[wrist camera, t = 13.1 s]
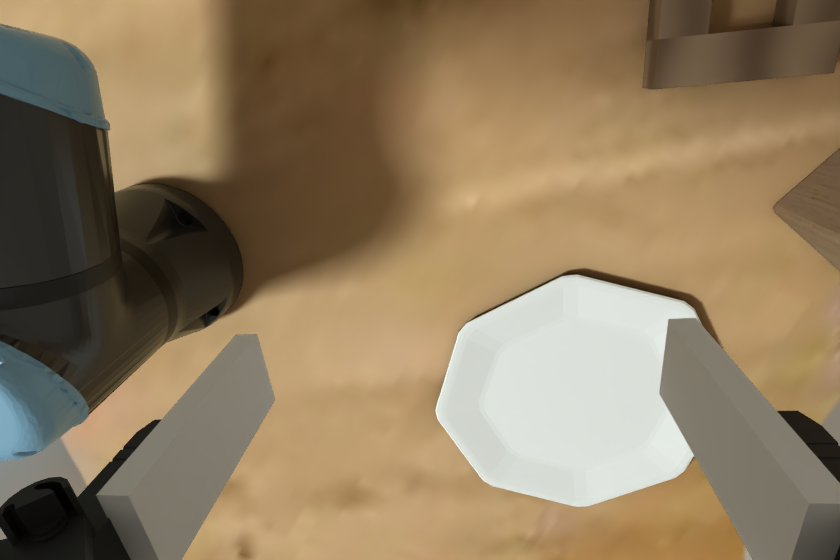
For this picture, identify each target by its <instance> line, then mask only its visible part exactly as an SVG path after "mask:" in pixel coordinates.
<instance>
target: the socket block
mask: <svg viewBox="0 0 840 560" xmlns="http://www.w3.org/2000/svg"><path fill="white" fill-rule="evenodd" d="M712 2H713V0H650V8H649V19H648V30H647V41H646V53H645V64H644V75H643V86H642V88H648V89H663V88H674V87H685V86H696V85H707V84H718V83H729V82H740V81H751V80H762V79H773V78H784V77H795V76H806V75H817V74H828V73H834V70H835V66H836V62H837V58H838V54H839V49H840V0H777V4H776V9H775V15H774V20H773V26H772V28H762V29H752V30H743V31H733V32H723V33H714V34H708V32H709V24H710V17H711V10H712Z"/></svg>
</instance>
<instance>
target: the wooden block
mask: <svg viewBox="0 0 840 560" xmlns="http://www.w3.org/2000/svg"><path fill="white" fill-rule="evenodd" d="M773 209H774V212H775V213H776V214H777V215H778V216H779V217H780V218H781V219H782V220H783V221H784V222H786V223H787V224H788V225H789V226H790V227H791V228H792V229H793V230H794V231H796V232H797V233H798V234H799V235H800V236H801V237H802V238H803V239H804V240H806V241H807V242H808V243H809V244H810V245H811V246H812V247H813V248H814V249H815V250H817V251H818V252H819V253H820V254H821V255H822V256H823V257H824V258H825V259H827V260H828V261H829V262H830V263H831V264H832V265H833V266H834V267H835V268H837V269H838V270H839V271H840V149H838V150H837V151H836V152H835V153H834V154H833V155H832V156H830V157H829V158H828V159H827V160H826V161H825V162H823V163H822V164H821V165H820V166H819V167H818V168H816V169H815V170H814V171H813V172H812V173H811V174H810V175H808V176H807V177H806V178H805V179H804V180H803V181H801V182H800V183H799V184H798V185H797V186H796V187H795V188H793V189H792V190H791V191H790V192H789V193H788V194H786V195H785V196H784V197H783V198H782V199H781V200H780V201H778V202H777V203H776V204H775V205H774V207H773Z"/></svg>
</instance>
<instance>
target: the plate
mask: <svg viewBox="0 0 840 560" xmlns="http://www.w3.org/2000/svg"><path fill="white" fill-rule="evenodd" d="M679 318H696V319H697V320H698V321H699V322H700V324H701V321H700V319H699V317H698V315H697V313H696V311H695V309H694V308H693V307H692V306H690V305H689V304H688V303H686V302H685V301H684V300H681V299H677V298H673V297H669V296H665V295H660V294H656V293H652V292H648V291H644V290H640V289H636V288H632V287H628V286H624V285H620V284H616V283H612V282H608V281H604V280H600V279H596V278H592V277H588V276H584V275H580V274H571V275H562V276H560V277H558V278H556V279H554V280H552V281H550V282H548V283H546V284H544V285H541V286H539V287H537V288H535V289H533V290H531V291H529V292H527V293H525V294H523V295H521V296H519V297H517V298H515V299H513V300H511V301H509V302H507V303H505V304H503V305H501V306H498V307H496V308H494V309H492V310H490V311H488V312H486V313H484V314H482V315H480V316H478V317H476V318H474V319H472V320H470V321H468V322H467V323H466V324H465V325H464V326H463V327H462V328H461V329H460V330H459V333H458V336H457V339H456V343H455V346H454V349H453V352H452V356H451V359H450V362H449V366H448V369H447V372H446V376H445V379H444V382H443V386H442V389H441V392H440V395H439V399H438V402H437V405H436V409H435V410H436V415H437V419H438V421H439V422H440V423H441V425H442V426H443V427H444V429H445V430H446V431H447V433H448V434H449V435H450V437H451V438H452V439H453V441H454V442H455V443H456V445H457V446H458V448H459V449H460V450H461V452H462V453H463V454H464V456H465V457H466V458H467V460H468V461H469V462H470V464H471V465H472V466H473V468H474V469H475V470H476V472H477V473H478V475H479V476H480V477H481V479H482V480H483V481H485V482H486V483H488V484H490V485H491V486H494V487H499V488H503V489H507V490H511V491H515V492H519V493H523V494H527V495H531V496H535V497H539V498H543V499H547V500H551V501H555V502H559V503H563V504H567V505H571V506H575V507H581V506H590V505H593V504H596V503H599V502H602V501H606V500H609V499H612V498H615V497H618V496H621V495H624V494H627V493H630V492H633V491H636V490H639V489H642V488H645V487H648V486H652V485H655V484H658V483H661V482H664V481H667V480H670V479H673V478H675V477H677V476H678V475H680V474H681V473H682V472H684V471H685V469H686V468H687V466H688V465H689V463H690V462H691V460H692V458H693V457H694V455H693V453H692V451H691V449H690V447H689V446H688V444H687V442H686V440H685V439H684V437H683V435H682V433H681V431H680V430H679V428H678V426H677V424H676V423H675V421H674V419H673V417H672V415H671V414H670V412H669V410H668V408H667V407H666V405H665V403H664V401H663V399H662V398H661V396H660V394H659V390H660V382H661V374H662V366H663V358H664V350H665V342H666V334H667V326H668V319H679ZM701 325H702V324H701Z"/></svg>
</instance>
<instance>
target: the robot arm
mask: <svg viewBox="0 0 840 560" xmlns="http://www.w3.org/2000/svg"><path fill="white" fill-rule="evenodd" d="M108 130H110V124H109V122H108V121H107V120H106V119H105V115H104V110H103V105H102V100H101V94H100V88H99V83H98V77H97V73H96V70H95V68H94V66H93V64H92V62H91V61H90V59H89V58H88V57H87V56H86V55H85V54H84V53H83V52H82V51H81V50H80V49H79V48H77V47H76V46H74V45H73V44H71V43H69V42H67V41H64V40H61V39H58V38H55V37H52V36H48V35H44V34H40V33H36V32H32V31H28V30H24V29H20V28H16V27H12V26H8V25H3V24H0V460H15V459H20V458H25V457H28V456H31V455H34V454H36V453H38V452H40V451H42V450H44V449H45V448H47V447H48V446H50V445H51V444H52V443H53V442H55V441H56V440H57V439H58V438H60V437H61V436H62V435H63V434H65V433H66V432H67V431H68V430H70V429H71V428H72V427H74V426H76V425H78V424H81V423H82V422H84V421H85V419H86V418H87V417H88V416H89V414H90V413H91V412H92V411H93V410H94V409H95V408H97V407H98V406H99V405H100V404H101V403H102V402H103V401H104V400H105V399H106V398H107V397H108V396H109V395H110V394H111V393H112V392H114V391H115V390H116V389H117V388H118V387H119V386H120V385H121V384H122V383H123V382H124V381H125V380H126V379H127V378H128V377H129V376H131V375H132V374H133V373H134V372H135V371H136V370H137V369H138V368H139V367H140V366H141V365H142V364H143V363H144V362H145V361H146V360H148V359H149V358H150V357H151V356H152V355H153V354H154V353H155V352H156V351H157V350H158V349H159V348H160V347H161V346H162V345H164V344H165V343H166V342H169V341H172V340H175V339H178V338H180V337H183V336H186V335H189V334H191V333H194V332H197V331H200V330H202V329H204V328H206V327H208V326H210V325H211V324H213V323H214V322H216V321H217V320H218V319H219V318H220V317H221V316H222V315H223V314H224V313H225V312H226V311H227V310H228V309H229V308H230V307H231V306H232V304H233V303H234V302H235V300H236V298H237V296H238V294H239V291H240V288H241V284H242V277H243V268H242V260H241V256H240V252H239V249H238V246H237V244H236V242H235V239H234V237H233V236H232V234H231V232H230V231H229V229H228V227H227V226H226V225H225V223H224V222H223V221H222V220H221V218H220V217H219V216H218V215H217V214H216V213H215V212H214V211H213V210H212V209H211V208H210V207H208V206H207V205H206V204H205V203H203V202H202V201H201V200H199V199H197V198H196V197H194V196H192V195H191V194H189V193H187V192H185V191H182V190H180V189H177V188H174V187H171V186H167V185H161V184H139V185H134V186H131V187H128V188H125V189H122V190H120V191H117V192H114V185H113V176H112V166H111V157H110V148H109V139H108ZM659 394H660V396H661V398H662V399H663V401H664V403H665V405H666V407H667V408H668V410H669V412H670V414H671V415H672V417H673V419H674V421H675V423H676V424H677V426H678V428H679V430H680V431H681V433H682V435H683V437H684V439H685V440H686V442H687V444H688V446H689V447H690V449H691V451H692V453H693V455H694V456H695V458H696V460H697V462H698V463H699V465H700V467H701V469H702V471H703V472H704V474H705V476H706V478H707V479H708V481H709V483H710V485H711V486H712V488H713V490H714V492H715V494H716V495H717V497H718V499H719V501H720V502H721V504H722V506H723V508H724V510H725V511H726V513H727V515H728V517H729V518H730V520H731V522H732V524H733V526H734V527H735V529H736V531H737V533H738V534H739V536H740V538H741V540H742V542H743V543H744V545H745V547H746V549H747V550H748V552H749V554H750V556H751V557H752V559H753V560H840V446H838V442H837V441H836V440H835V439H834V438H833V437H832V436H831V435H830V434H829V433H828V432H827V431H826V430H825V429H824V428H823V427H822V426H821V425H820V424H818V423H816V422H815V421H813V420H812V419H810V418H808V417H807V416H805V415H804V414H802V413H800V412H799V411H776V410H775V408H774V407H773V406H772V405H771V404H770V403H769V401H768V400H767V399H766V398H765V397H764V396H763V395H762V393H761V392H760V391H759V390H758V389H757V388H756V387H755V385H754V384H753V383H752V382H751V381H750V380H749V379H748V377H747V376H746V375H745V374H744V373H743V372H742V371H741V369H740V368H739V367H738V366H737V365H736V364H735V363H734V361H733V360H732V359H731V358H730V357H729V356H728V355H727V353H726V352H725V351H724V350H723V349H722V348H721V346H720V345H719V344H718V343H717V342H716V341H715V340H714V338H713V337H712V336H711V335H710V334H709V333H708V332H707V330H706V329H705V328H704V327H703V326H702V325H701V324H700V322H699V321H698V320H697V319H696V318H679V319H668V326H667V334H666V342H665V350H664V358H663V366H662V374H661V382H660V390H659ZM274 401H275V397H274V394H273V390H272V387H271V383H270V379H269V376H268V372H267V368H266V365H265V361H264V358H263V354H262V350H261V347H260V343H259V339H258V336H257V334H244V335H235V336H234V337H233V339H232V340H231V341H230V342H229V343H228V344H227V345H226V347H225V348H224V349H223V350H222V351H221V352H220V353H219V355H218V356H217V357H216V358H215V359H214V360H213V361H212V363H211V364H210V365H209V366H208V367H207V368H206V369H205V371H204V372H203V373H202V374H201V375H200V376H199V378H198V379H197V380H196V381H195V382H194V383H193V384H192V386H191V387H190V388H189V389H188V390H187V391H186V392H185V394H184V395H183V396H182V397H181V398H180V399H179V400H178V402H177V403H176V404H175V405H174V406H173V407H172V408H171V410H170V411H169V412H168V413H167V414H166V415H165V417H164V418H163V419H162V420H154V421H152V422H151V423H149V424H148V425H147V426H145V427H144V428H142V429H141V430H139V431H138V432H137V433H136V434H135V435H134V436H133V437H132V438H131V439H130V440H129V441H128V442H127V444H126V445H125V446H124V447H123V450H120V451H119V452H118V453H117V455H116V456H115V457H114V458H113V461H112V462H109V463H108V464H107V466H106V467H105V468H104V469H103V470H102V471H101V472H100V473H99V474H98V475H97V477H96V478H95V479H94V480H93V481H92V482H91V483H90V484H89V485H88V486H87V488H86V489H85V490H84V491H83V492H82V493H81V494H80V495H79V496H78V497H76V495H75V493H74V491H73V489H72V487H71V485H70V483H69V482H68V480H67V479H65V478H62V477H54V478H47V479H44V480H41V481H38V482H35V483H33V484H31V485H29V486H27V487H25V488H23V489H21V490H20V491H19V492H17V493H16V494H14V495H13V496H12V497H10V498H9V499H8V500H7V501H6V502H5V503H4V504H3V505H2V506H1V507H0V527H1V529H2V531H3V532H4V534H5V535H6V537H7V539H3V540H0V560H182V558H183V556H184V555H185V553H186V551H187V549H188V548H189V546H190V544H191V543H192V541H193V539H194V538H195V536H196V534H197V532H198V531H199V529H200V527H201V526H202V524H203V522H204V520H205V519H206V517H207V515H208V514H209V512H210V510H211V509H212V507H213V505H214V503H215V502H216V500H217V498H218V497H219V495H220V493H221V491H222V490H223V488H224V486H225V485H226V483H227V481H228V480H229V478H230V476H231V474H232V473H233V471H234V469H235V468H236V466H237V464H238V462H239V461H240V459H241V457H242V456H243V454H244V452H245V451H246V449H247V447H248V445H249V444H250V442H251V440H252V439H253V437H254V435H255V433H256V432H257V430H258V428H259V427H260V425H261V423H262V422H263V420H264V418H265V416H266V415H267V413H268V411H269V410H270V408H271V406H272V404H273V403H274Z"/></svg>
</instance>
